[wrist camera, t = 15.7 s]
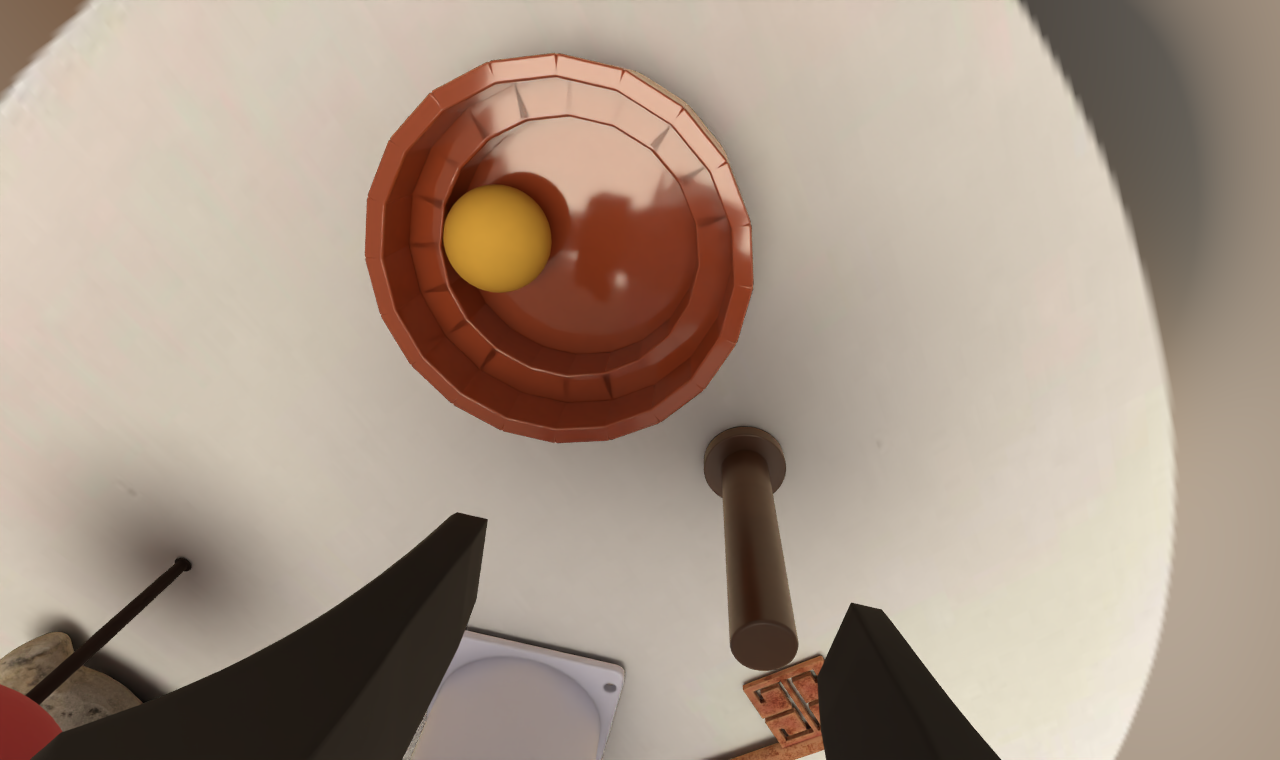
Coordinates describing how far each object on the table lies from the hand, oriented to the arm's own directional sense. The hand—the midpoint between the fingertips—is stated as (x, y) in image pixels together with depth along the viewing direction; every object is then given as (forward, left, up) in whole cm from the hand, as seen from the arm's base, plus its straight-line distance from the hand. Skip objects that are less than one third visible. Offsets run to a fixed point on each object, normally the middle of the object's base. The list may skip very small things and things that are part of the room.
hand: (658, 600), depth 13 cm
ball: (+4, +6, -8) cm, 11 cm away
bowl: (+4, +4, -10) cm, 12 cm away
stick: (-2, -3, -10) cm, 11 cm away
